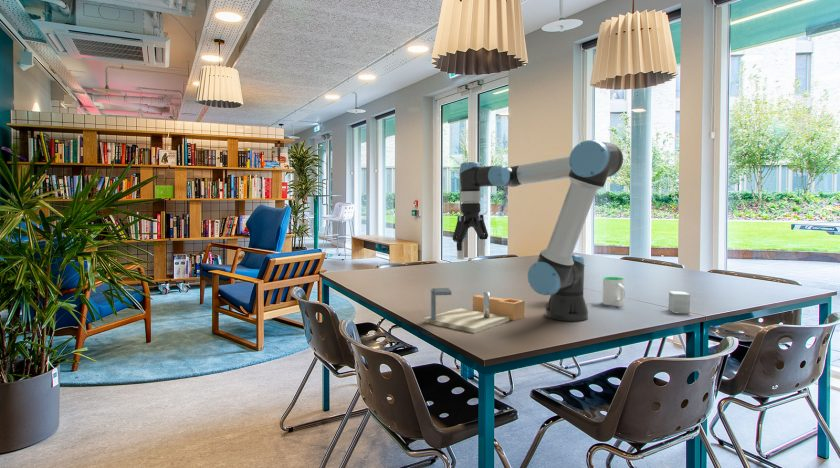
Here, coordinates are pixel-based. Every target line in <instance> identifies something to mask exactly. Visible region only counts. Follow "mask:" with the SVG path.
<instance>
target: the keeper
mask: <svg viewBox="0 0 840 468" xmlns="http://www.w3.org/2000/svg"><path fill="white" fill-rule="evenodd" d="M437 296H452V290H451V288H450V287H433V288H430V316H431V320H436V315H437V311H436V309H437V308H436V307H437V306H436V305H437V301H436V299H437Z"/></svg>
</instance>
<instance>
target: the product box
mask: <svg viewBox="0 0 840 468" xmlns="http://www.w3.org/2000/svg"><path fill="white" fill-rule="evenodd" d="M690 303H691V295H690V293H688V292H686V291H680V290H679V291H677V290H676V291H675V290H673V291H671V290H669V291H668V307H667V308H668V311H669V312H671V311H672V312H678V313H677V314H687V313H689V314H690ZM672 312H671V313H672Z"/></svg>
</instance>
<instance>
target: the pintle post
mask: <svg viewBox="0 0 840 468" xmlns="http://www.w3.org/2000/svg"><path fill="white" fill-rule="evenodd" d="M483 296H484V318H490V297H491V292H490V291H484V292H483Z"/></svg>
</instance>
